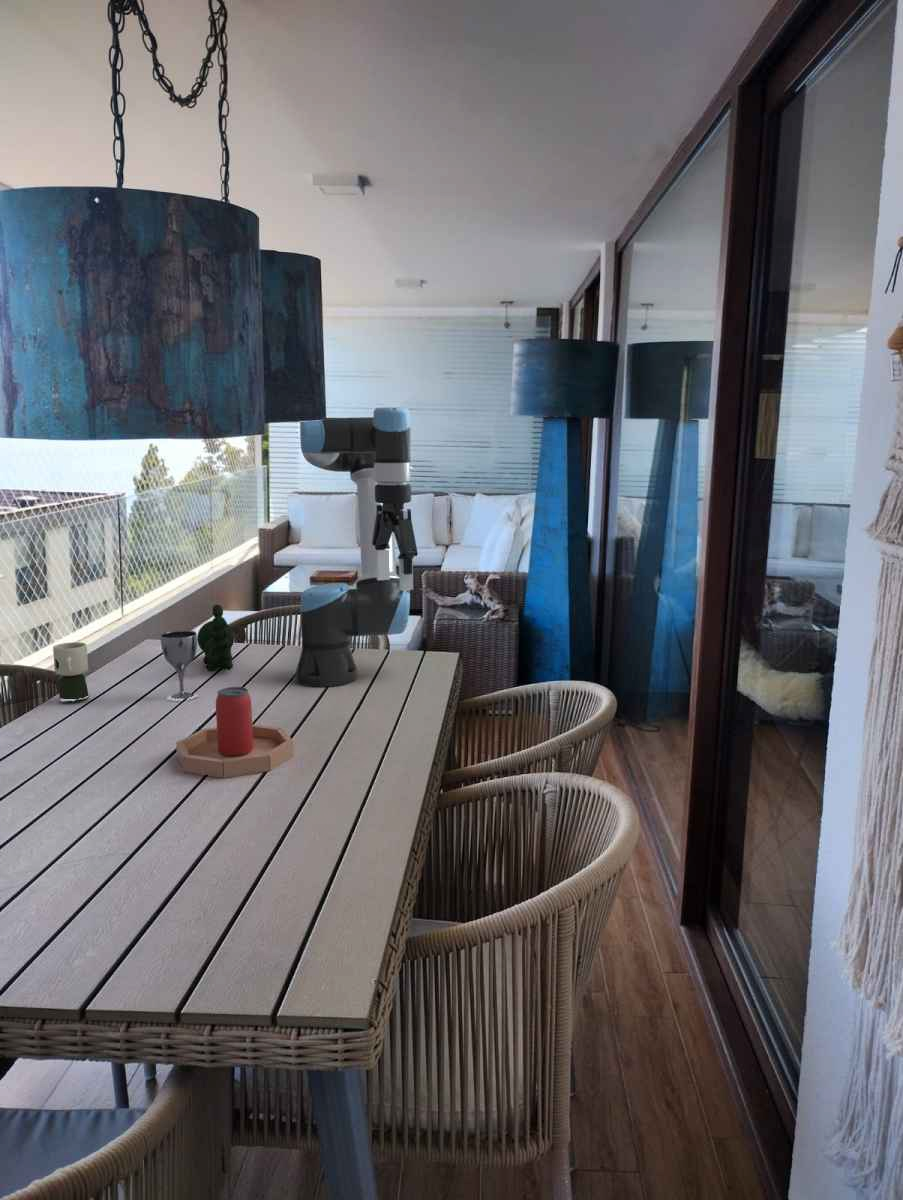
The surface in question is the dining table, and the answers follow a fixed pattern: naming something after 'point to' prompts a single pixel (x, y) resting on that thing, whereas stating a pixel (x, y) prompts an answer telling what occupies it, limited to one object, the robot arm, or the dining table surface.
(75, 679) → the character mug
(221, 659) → the toy figurine
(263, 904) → the dining table surface
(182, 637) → the wine glass
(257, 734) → the terracotta saucer
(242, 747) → the beer can
